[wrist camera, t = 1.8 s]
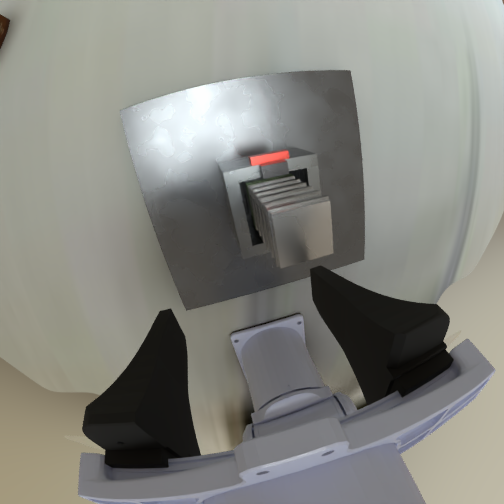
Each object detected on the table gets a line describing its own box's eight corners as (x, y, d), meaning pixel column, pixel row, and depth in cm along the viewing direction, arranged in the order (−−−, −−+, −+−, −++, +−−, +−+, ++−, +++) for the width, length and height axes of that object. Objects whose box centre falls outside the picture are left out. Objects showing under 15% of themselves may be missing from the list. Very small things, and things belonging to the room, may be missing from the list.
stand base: (359, 254, 27) (389, 283, 22) (186, 303, 25) (187, 346, 20) (344, 71, 18) (384, 64, 13) (123, 111, 17) (98, 108, 12)
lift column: (288, 207, 21) (335, 254, 14) (248, 217, 21) (278, 271, 14) (282, 168, 20) (332, 197, 13) (240, 177, 20) (268, 212, 12)
